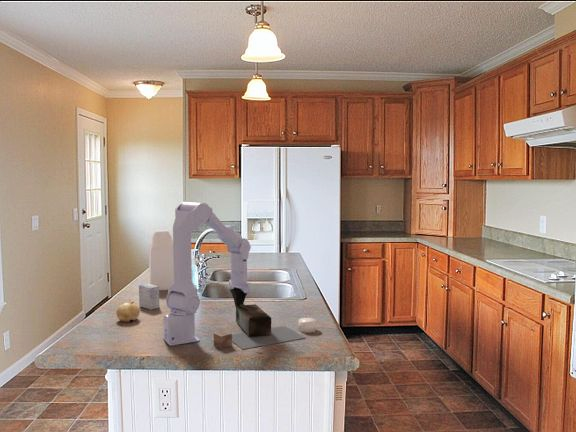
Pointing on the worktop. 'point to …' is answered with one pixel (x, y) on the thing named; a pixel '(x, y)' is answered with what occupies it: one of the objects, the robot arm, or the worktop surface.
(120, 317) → the onion
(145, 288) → the medicine box
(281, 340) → the mat
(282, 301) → the worktop surface
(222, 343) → the walnut block
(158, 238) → the milk
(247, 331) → the beverage carton
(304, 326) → the cream egg shape
